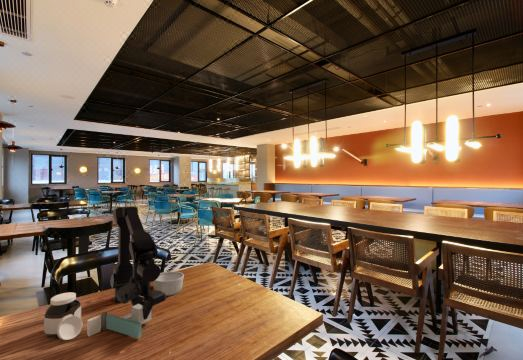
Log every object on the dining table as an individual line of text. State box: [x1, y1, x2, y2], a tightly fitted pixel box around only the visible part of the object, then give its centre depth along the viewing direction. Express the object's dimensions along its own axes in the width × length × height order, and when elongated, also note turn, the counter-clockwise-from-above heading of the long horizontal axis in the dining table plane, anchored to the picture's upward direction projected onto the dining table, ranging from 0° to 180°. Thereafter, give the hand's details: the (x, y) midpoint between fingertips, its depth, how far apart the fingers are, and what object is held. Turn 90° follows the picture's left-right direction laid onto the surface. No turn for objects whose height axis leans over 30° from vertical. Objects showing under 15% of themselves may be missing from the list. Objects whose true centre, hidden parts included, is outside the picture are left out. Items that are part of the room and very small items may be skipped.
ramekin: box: [153, 270, 185, 297], centre depth 120 cm, size 13×13×7 cm
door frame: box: [86, 305, 156, 337], centre depth 96 cm, size 2×26×5 cm, turn 149°
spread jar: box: [43, 291, 83, 341], centre depth 87 cm, size 12×11×12 cm
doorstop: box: [130, 304, 152, 326], centre depth 92 cm, size 4×5×6 cm
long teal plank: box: [105, 313, 142, 339], centre depth 86 cm, size 14×1×4 cm, turn 68°
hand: (141, 317), depth 92 cm, fingers closed on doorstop, 4 cm apart
